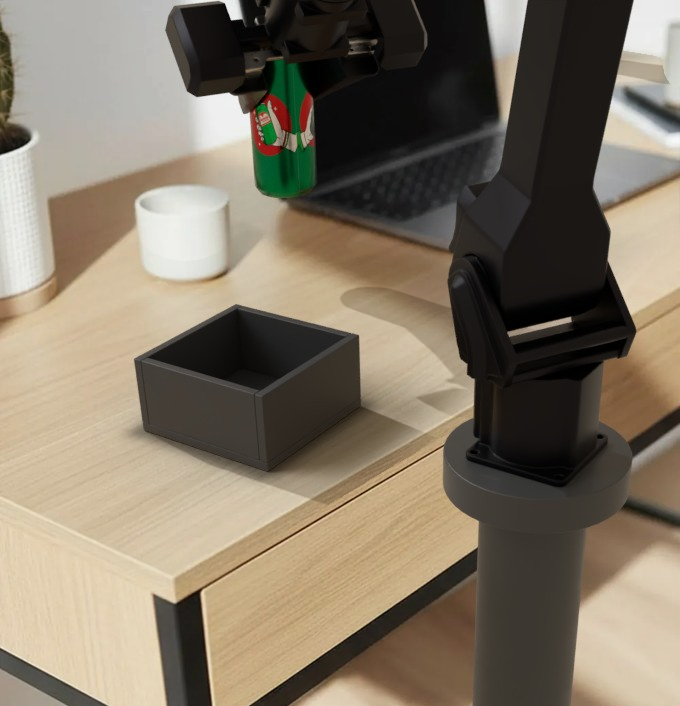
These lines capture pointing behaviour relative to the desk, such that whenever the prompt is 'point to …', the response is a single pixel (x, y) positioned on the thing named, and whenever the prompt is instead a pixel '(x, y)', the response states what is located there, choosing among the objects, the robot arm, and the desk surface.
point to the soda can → (285, 132)
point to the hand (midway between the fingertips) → (274, 104)
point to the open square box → (249, 385)
